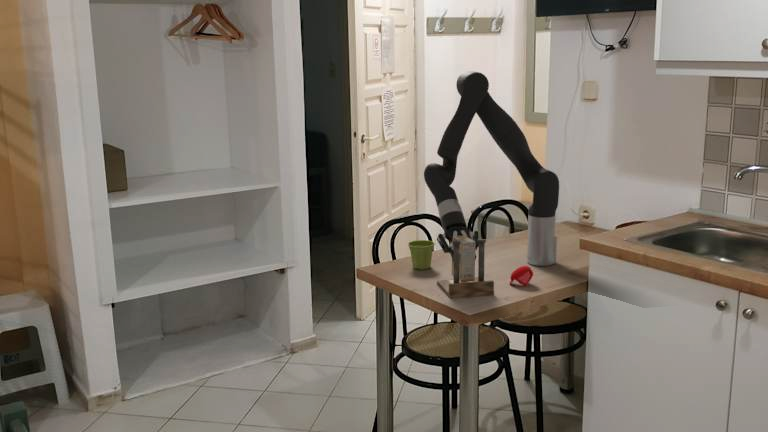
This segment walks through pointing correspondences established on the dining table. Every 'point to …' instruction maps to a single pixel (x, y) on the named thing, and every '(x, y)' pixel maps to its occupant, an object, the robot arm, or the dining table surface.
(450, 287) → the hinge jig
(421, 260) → the plant pot
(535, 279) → the dining table surface
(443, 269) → the dining table surface
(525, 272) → the cap
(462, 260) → the supplement box
